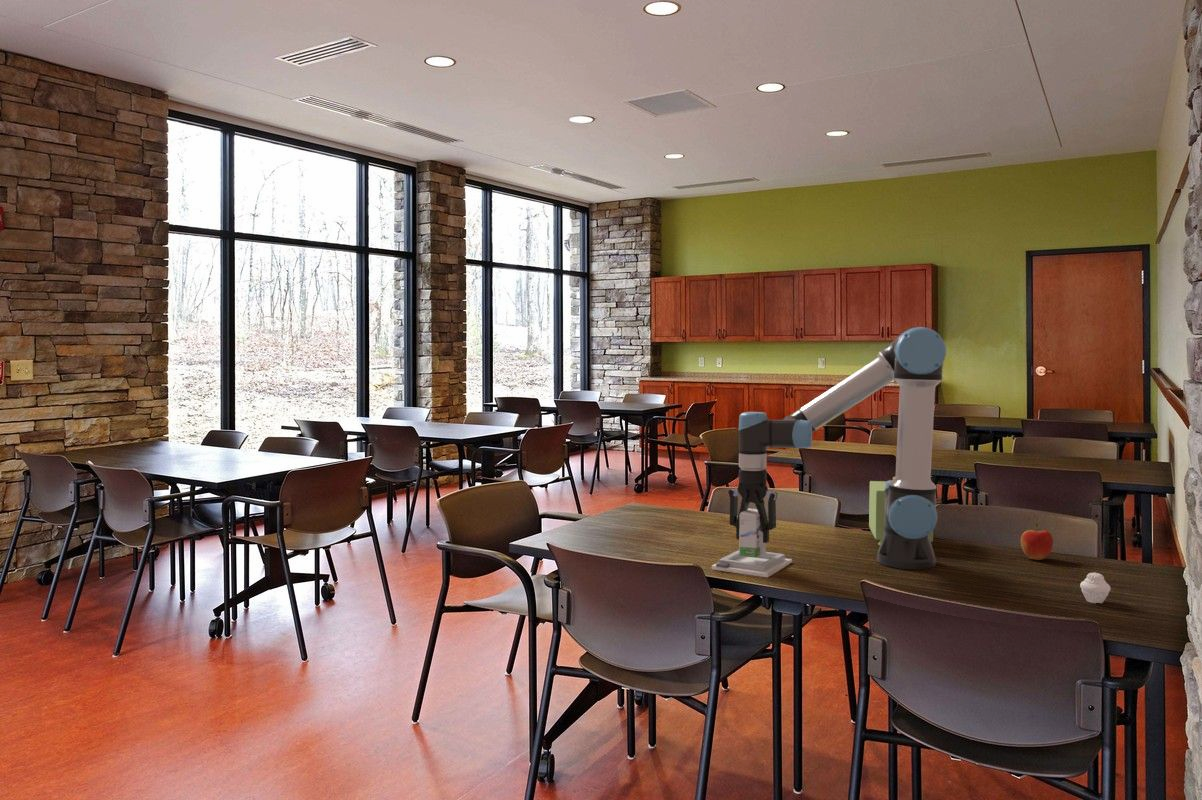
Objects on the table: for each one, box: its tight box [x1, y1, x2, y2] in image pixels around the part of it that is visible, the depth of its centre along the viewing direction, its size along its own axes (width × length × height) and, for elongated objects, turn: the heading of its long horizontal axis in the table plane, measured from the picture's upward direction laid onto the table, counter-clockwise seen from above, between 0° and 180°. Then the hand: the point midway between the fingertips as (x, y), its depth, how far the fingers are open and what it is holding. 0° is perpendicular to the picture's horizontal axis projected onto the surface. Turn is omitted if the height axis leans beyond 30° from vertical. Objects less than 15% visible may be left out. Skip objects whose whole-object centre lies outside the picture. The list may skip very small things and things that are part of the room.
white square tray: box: [711, 549, 793, 578], centre depth 234 cm, size 16×18×2 cm
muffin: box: [1079, 572, 1112, 604], centre depth 199 cm, size 6×6×7 cm
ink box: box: [740, 507, 762, 558], centre depth 233 cm, size 8×5×12 cm, turn 152°
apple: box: [1020, 523, 1054, 561], centre depth 239 cm, size 8×8×10 cm
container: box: [868, 476, 934, 546], centre depth 262 cm, size 19×16×20 cm
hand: (752, 552), depth 234 cm, fingers closed on ink box, 5 cm apart
